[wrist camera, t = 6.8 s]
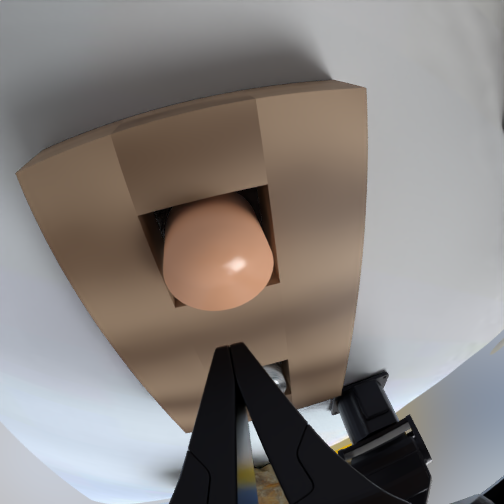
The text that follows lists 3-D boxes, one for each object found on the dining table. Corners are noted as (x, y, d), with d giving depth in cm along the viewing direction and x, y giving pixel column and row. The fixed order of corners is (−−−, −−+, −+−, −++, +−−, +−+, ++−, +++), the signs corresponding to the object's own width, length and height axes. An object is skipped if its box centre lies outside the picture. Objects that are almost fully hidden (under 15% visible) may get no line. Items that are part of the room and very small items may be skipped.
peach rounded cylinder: (262, 254, 16) (278, 296, 14) (179, 274, 16) (181, 319, 13) (249, 177, 14) (266, 210, 11) (153, 200, 13) (147, 239, 11)
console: (329, 369, 27) (341, 395, 25) (183, 405, 26) (185, 433, 24) (333, 79, 13) (366, 87, 10) (42, 150, 12) (15, 173, 9)
